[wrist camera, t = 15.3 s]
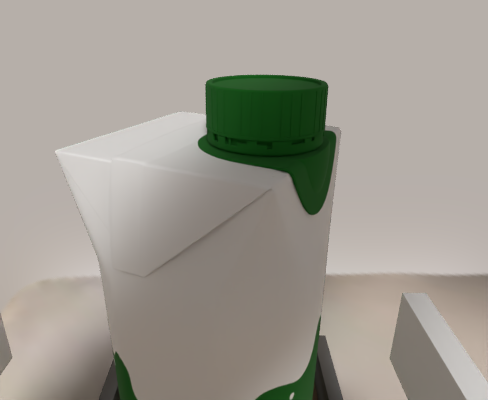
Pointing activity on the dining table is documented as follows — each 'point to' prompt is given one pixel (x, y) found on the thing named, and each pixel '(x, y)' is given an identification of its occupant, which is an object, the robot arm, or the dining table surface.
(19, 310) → the dining table surface
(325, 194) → the soya milk
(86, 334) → the dining table surface
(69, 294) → the dining table surface
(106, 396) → the dark gray tray
